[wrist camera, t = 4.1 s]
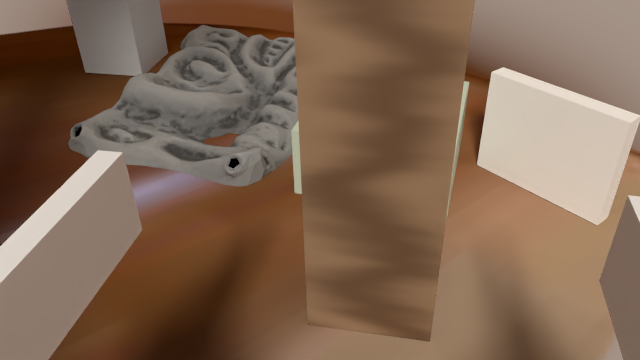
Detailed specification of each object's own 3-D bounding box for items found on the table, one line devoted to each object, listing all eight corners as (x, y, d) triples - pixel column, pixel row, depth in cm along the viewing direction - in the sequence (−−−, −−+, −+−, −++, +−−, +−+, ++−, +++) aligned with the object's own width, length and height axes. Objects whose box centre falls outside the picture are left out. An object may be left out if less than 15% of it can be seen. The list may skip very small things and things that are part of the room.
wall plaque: (198, 47, 62) (193, 11, 60) (366, 68, 56) (367, 30, 54) (40, 154, 44) (24, 108, 42) (264, 202, 38) (259, 152, 36)
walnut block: (307, 324, 28) (290, -60, 18) (329, 246, 33) (324, -91, 23) (429, 341, 27) (482, -56, 17) (433, 258, 32) (476, -89, 22)
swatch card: (597, 225, 34) (630, 122, 30) (476, 164, 40) (491, 72, 36) (610, 214, 35) (645, 113, 31) (491, 156, 41) (506, 65, 37)
